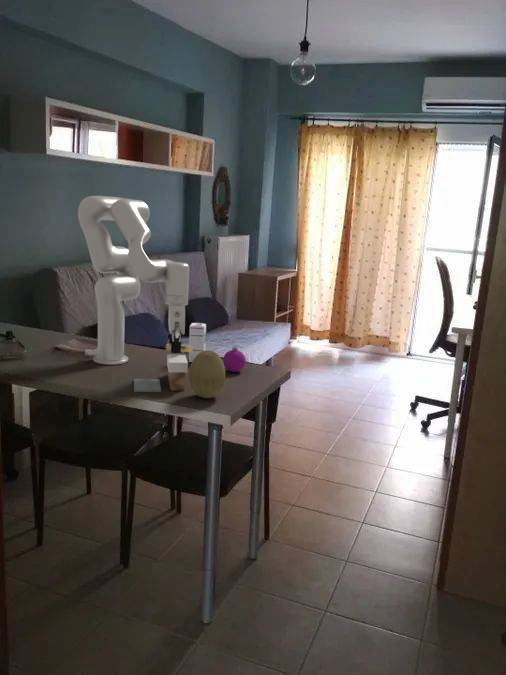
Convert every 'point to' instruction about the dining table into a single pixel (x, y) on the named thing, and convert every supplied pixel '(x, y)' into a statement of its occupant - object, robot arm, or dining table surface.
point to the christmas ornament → (234, 360)
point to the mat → (147, 385)
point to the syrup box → (197, 339)
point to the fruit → (207, 374)
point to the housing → (176, 380)
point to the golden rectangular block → (183, 348)
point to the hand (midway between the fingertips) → (174, 349)
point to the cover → (177, 363)
